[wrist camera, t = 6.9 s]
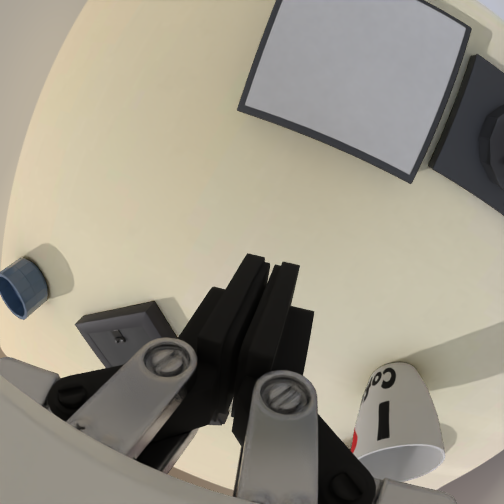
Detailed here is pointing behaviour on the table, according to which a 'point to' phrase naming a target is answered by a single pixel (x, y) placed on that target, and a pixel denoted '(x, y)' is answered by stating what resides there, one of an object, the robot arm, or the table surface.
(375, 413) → the cup
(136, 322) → the picture frame
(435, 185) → the table surface
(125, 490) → the robot arm
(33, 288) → the blue round container
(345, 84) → the scale
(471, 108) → the panel
